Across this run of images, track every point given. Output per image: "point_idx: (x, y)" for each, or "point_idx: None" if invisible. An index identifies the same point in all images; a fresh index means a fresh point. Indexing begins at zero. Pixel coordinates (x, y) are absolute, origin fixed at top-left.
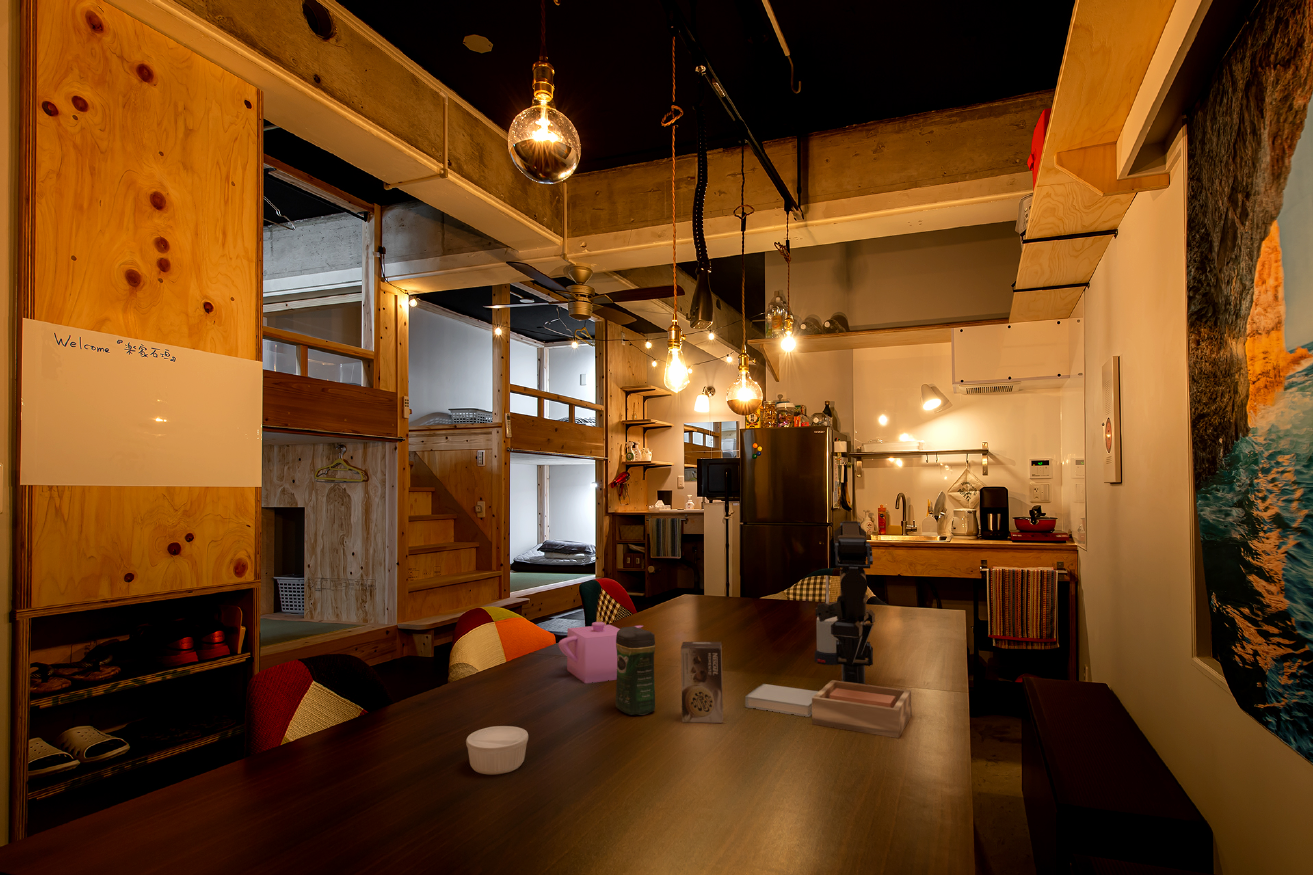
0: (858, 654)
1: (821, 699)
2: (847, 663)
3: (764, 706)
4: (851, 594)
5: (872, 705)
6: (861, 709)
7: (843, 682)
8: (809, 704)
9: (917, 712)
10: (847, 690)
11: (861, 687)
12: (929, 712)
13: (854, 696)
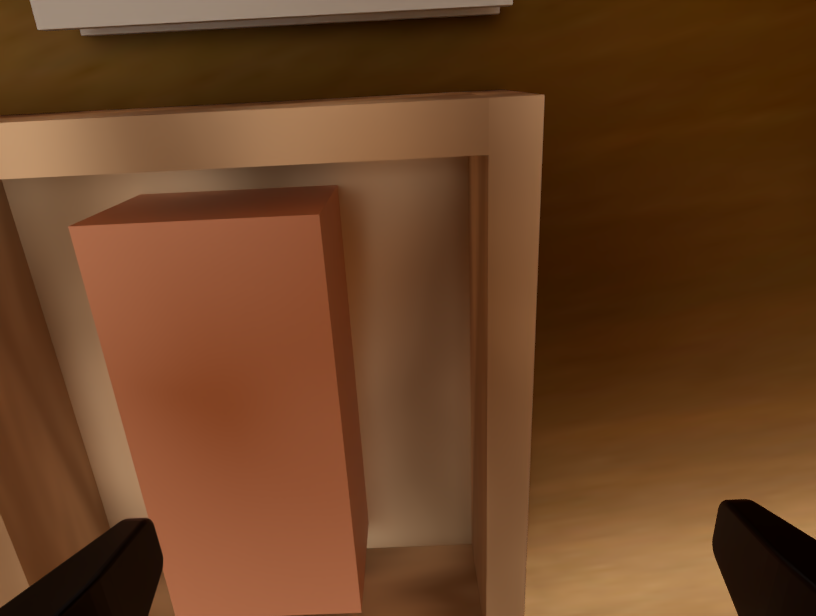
0: (718, 528)
1: None
2: (116, 526)
3: None
4: None
5: (10, 567)
6: None
7: (509, 231)
8: (76, 25)
9: (567, 553)
10: (305, 319)
11: (484, 380)
12: (593, 593)
13: (172, 408)
